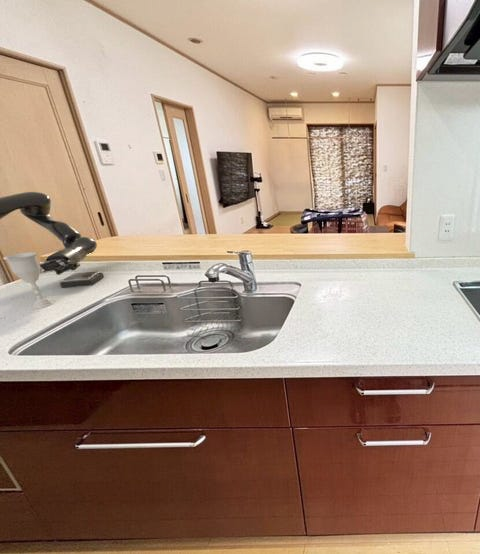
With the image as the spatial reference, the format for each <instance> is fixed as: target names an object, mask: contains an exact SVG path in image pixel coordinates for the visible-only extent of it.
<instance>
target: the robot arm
mask: <svg viewBox="0 0 480 554" xmlns="http://www.w3.org/2000/svg"><path fill="white" fill-rule="evenodd" d="M51 205H52V200H51V198H50V197H49V195H47V194H46V193H43V192H38V191H25V192H20V193H15V194H10V195H6V196H0V220H2V219H4V218H5V217H7V216H8V215H10V214H12V213H14V212H15V211H17V210H19V212H20V213H21V214H22V215H23V216H24V217H26V218H27V219H28V220H30V221H32V222H34V223H35V224H36V225H38V226H40V227H42V228H44V229H45V230H47V231H48V232H50V233H51V234H52V235H53V236H55V237H56V238H57V239H58V240H59V241H60V242H61V243H62V246H63V247H64V248H63V249H60V250H57V251H56V252H53V253H52V254H50V255H49V256H47V257H46V258H45V261H44V262H41V263H39V265H40V275H42V274H43V275H44V274H47V273H51V272H55V274H56V275H57V276H60V275H62V274H63V273H66V272H69V271H75V270H77V269H78V268H79V267H81V262H82V261H84V260H83V259H84V258H85V257H86V255H87V254H89V253H92V252H93V253H94V252H95V250H96V249H97V248H98V244H97V241H96V240H94V239H93V238H92V237H89V236H82V234H80V232H79V231H78V230H76V229H75V228H74V227H72V225H70V224H69V223H68V222H64V221H60V220H54V219H53V217H52V216H51V215H50V213H51ZM93 253H92V254H93Z"/></svg>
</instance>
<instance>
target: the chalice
mask: <svg viewBox="0 0 480 554" xmlns="http://www.w3.org/2000/svg"><path fill="white" fill-rule="evenodd" d="M2 259H3V260H5V262H7V263H8V266H9V268H10V269H11V272H12V274H14V275H15V276H16V277H18V278H19V279H20V280H22V281H23V282H25V283H28V284H29V283H30V284H31V289H32V290H33V294H34V295H36V298H35V299H34V300H33V302H32V303H33V304H32V309H42V308H47V307H50V306H51V305H53V304H54V301H52V300H51V299H50V298H49V297H46V296H42V295H41V293H42V291H41V290H39V285H37V284H36V282H37V281H38V280H39V279H40V275H41V274H40V265H39V264H40V263H39V261H38V259H37V252H34V251H33V252H21V253H15V254H9V255H7V256H3V257H2Z"/></svg>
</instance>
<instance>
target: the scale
mask: <svg viewBox="0 0 480 554" xmlns="http://www.w3.org/2000/svg"><path fill="white" fill-rule="evenodd" d="M104 277H105V276H104V273H103V272H101V271H99V270H96V271H95V270H94V271H85V272H74V273H72V274H70V275H69V276H66V277H65V278H64V279H62V280H61V281H60V282H59V285H60V287H61V289H66V288H77V287H78V288H79V287H87V286H94V285H96V284H97V283H98V282H99V281H101V280H103V278H104Z"/></svg>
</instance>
